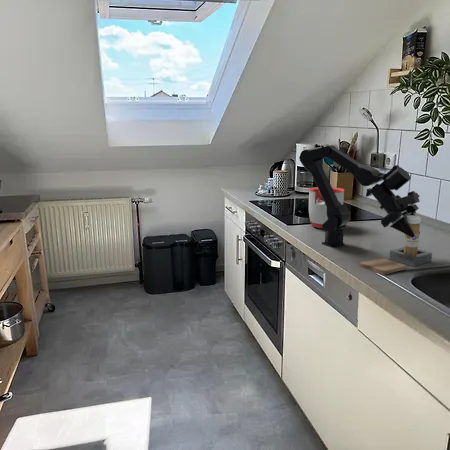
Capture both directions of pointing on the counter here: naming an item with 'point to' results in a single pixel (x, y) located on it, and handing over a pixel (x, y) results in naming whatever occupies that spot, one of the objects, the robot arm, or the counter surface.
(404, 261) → the square collar
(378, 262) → the walnut coaster
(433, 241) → the counter surface
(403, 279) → the counter surface
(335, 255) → the counter surface
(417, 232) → the sprinkles bottle
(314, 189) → the citrus juicer
